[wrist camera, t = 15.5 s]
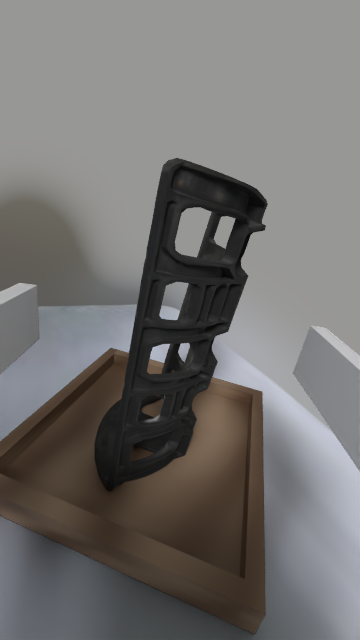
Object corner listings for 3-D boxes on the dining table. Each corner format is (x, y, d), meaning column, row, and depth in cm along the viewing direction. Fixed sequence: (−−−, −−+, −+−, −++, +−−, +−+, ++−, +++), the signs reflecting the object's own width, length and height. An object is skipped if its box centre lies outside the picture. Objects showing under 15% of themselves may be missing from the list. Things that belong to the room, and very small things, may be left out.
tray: (-36, 498, 17) (-41, 476, 16) (110, 362, 33) (110, 347, 32) (254, 634, 13) (265, 614, 12) (257, 406, 29) (262, 391, 29)
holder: (121, 383, 28) (164, 173, 20) (190, 402, 28) (261, 200, 20) (71, 483, 18) (121, 137, 10) (181, 512, 18) (315, 192, 10)
